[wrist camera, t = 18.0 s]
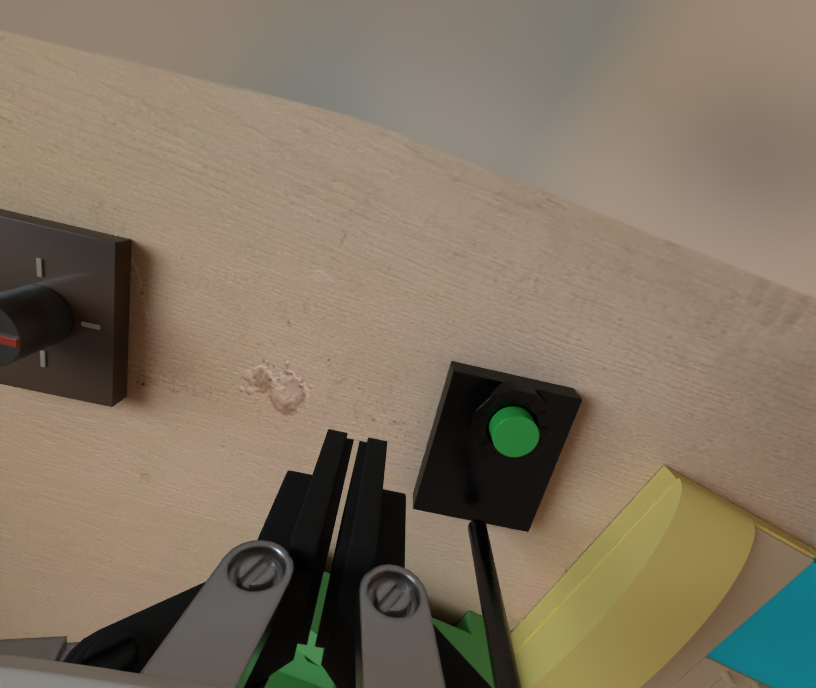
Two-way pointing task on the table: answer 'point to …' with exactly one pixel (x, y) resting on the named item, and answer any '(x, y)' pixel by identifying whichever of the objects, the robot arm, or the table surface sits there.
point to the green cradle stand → (304, 676)
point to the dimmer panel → (71, 306)
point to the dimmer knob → (31, 321)
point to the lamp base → (491, 448)
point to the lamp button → (513, 431)
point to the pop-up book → (677, 601)
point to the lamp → (493, 610)
